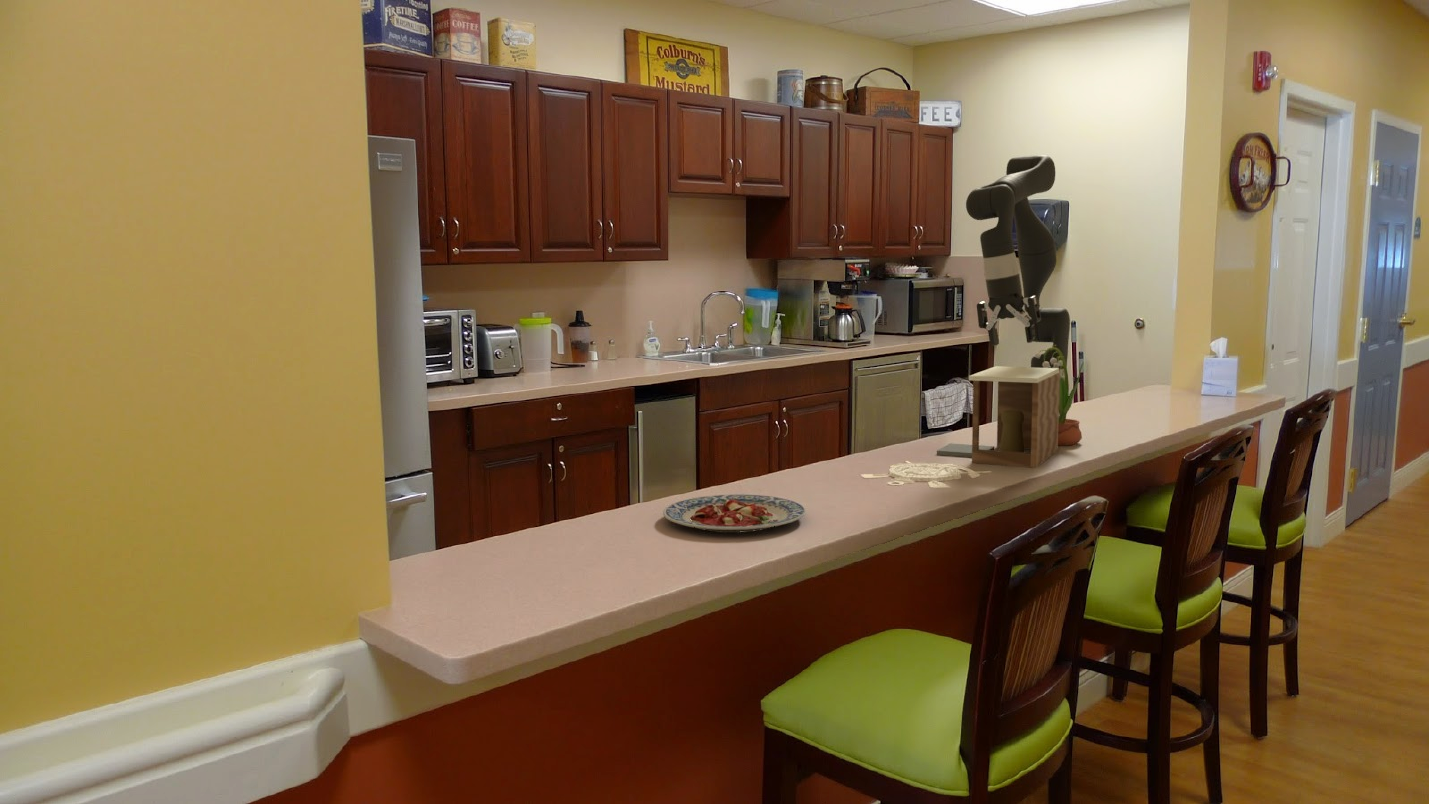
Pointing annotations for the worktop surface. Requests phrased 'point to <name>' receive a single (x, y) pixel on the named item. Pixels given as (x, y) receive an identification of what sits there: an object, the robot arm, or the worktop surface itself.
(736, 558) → the worktop surface
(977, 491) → the worktop surface
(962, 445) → the slate mat
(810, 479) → the worktop surface
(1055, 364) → the potted flower
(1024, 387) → the wooden cabinet
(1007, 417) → the cork
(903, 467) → the pendant
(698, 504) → the ceramic plate
